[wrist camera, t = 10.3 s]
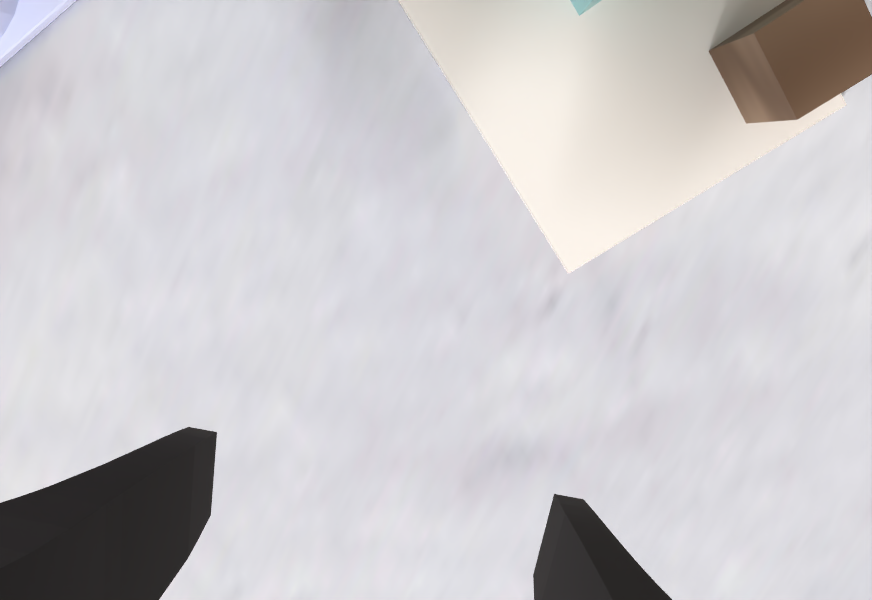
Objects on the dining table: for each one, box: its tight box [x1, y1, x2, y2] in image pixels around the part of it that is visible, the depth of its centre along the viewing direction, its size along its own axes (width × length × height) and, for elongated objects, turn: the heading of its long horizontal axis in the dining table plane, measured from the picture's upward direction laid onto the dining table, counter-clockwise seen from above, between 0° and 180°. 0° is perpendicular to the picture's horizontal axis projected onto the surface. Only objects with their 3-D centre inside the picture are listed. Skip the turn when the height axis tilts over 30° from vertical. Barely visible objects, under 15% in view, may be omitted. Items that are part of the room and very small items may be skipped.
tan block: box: [709, 0, 872, 124], centre depth 17 cm, size 3×3×3 cm
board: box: [398, 0, 846, 274], centre depth 18 cm, size 13×10×1 cm
